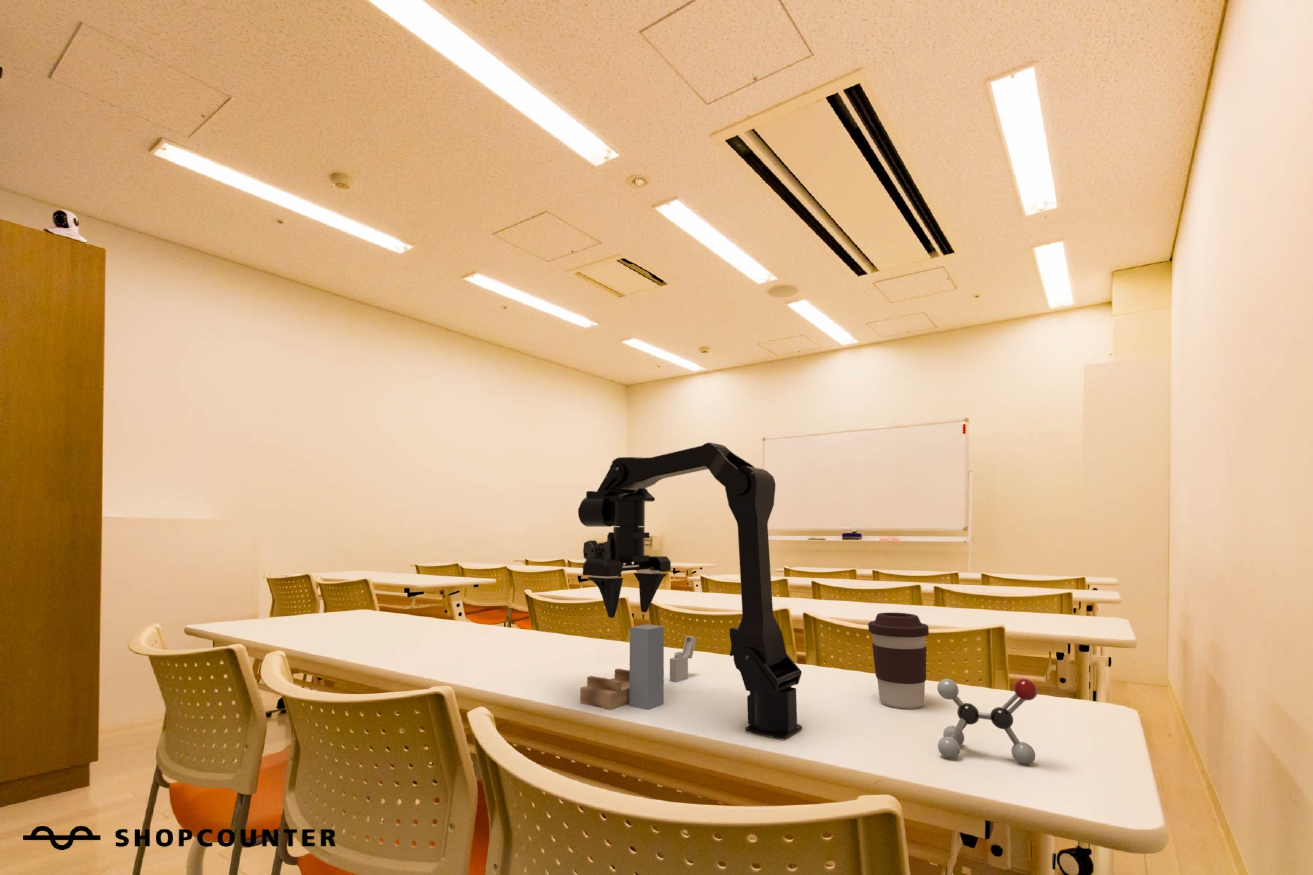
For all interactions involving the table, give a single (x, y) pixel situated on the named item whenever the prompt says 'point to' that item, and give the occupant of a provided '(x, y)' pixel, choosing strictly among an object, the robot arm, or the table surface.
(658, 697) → the grey square pillar
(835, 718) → the table surface
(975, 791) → the table surface
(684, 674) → the lighter
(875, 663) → the coffee cup
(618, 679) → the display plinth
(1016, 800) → the table surface
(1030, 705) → the table surface
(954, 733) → the molecular model
